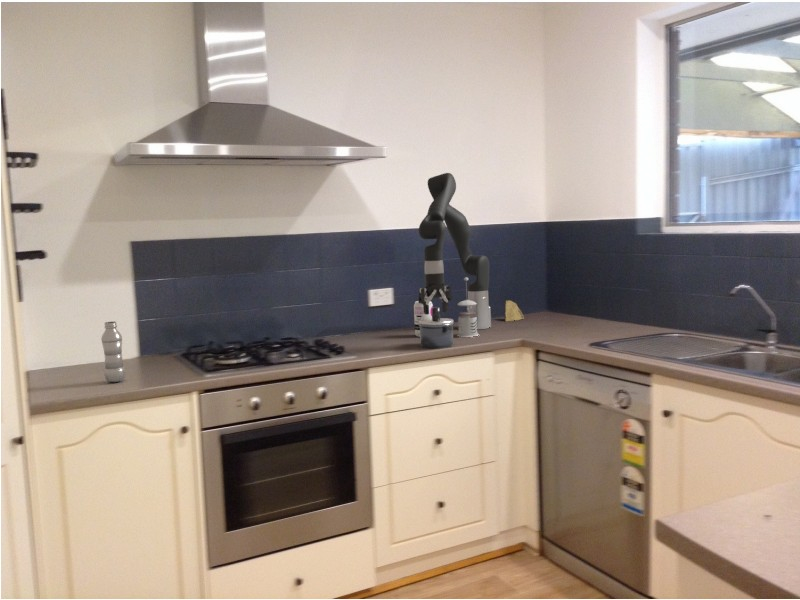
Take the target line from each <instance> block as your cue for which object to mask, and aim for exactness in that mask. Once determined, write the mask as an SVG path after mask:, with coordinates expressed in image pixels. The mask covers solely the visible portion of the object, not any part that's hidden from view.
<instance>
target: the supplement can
mask: <svg viewBox="0 0 800 600" xmlns="http://www.w3.org/2000/svg"><path fill="white" fill-rule="evenodd" d="M428 305H429V314H425V313H424V310H423V304H421V303H419V300H417V301H415V302H414V304H413V318H414V319H413V320H414V335H415V336H416V338H417V337H418V338H420V326H419V321H420V320H424V319H432V308H434V305H433V302H432V300H430V302H429V304H428Z"/></svg>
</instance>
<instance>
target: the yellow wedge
mask: <svg viewBox="0 0 800 600" xmlns="http://www.w3.org/2000/svg"><path fill="white" fill-rule="evenodd" d="M504 309H505V310H504V311H505V313H504V322H506V321H507V322H514V320H515V321H520V320H524V319H525V318H524V314H523V312H522V310H521V309H520V308H519V307H518V304H517V303H516V302H514V301H513V300H509V299H508V300H507V299H506V300H505V304H504Z"/></svg>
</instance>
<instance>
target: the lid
mask: <svg viewBox="0 0 800 600" xmlns="http://www.w3.org/2000/svg"><path fill="white" fill-rule="evenodd" d="M452 323H453V324H454V319H453V318H448V317H446V318H443V317H442V318H441V308H440V307H439V306H438V307H433V308H432V319H424V320H420V321H419V324H421V325H447V324H452Z"/></svg>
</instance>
